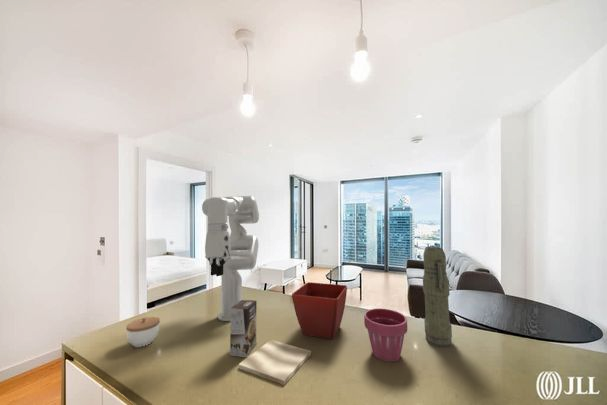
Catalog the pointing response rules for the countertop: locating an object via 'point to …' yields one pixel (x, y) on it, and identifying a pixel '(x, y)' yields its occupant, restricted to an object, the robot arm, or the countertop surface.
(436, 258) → the moai statue figurine
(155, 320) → the lidded jar
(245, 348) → the coffee box
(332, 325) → the plant pot
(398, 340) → the plant pot
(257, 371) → the birch board
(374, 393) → the countertop surface
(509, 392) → the countertop surface
